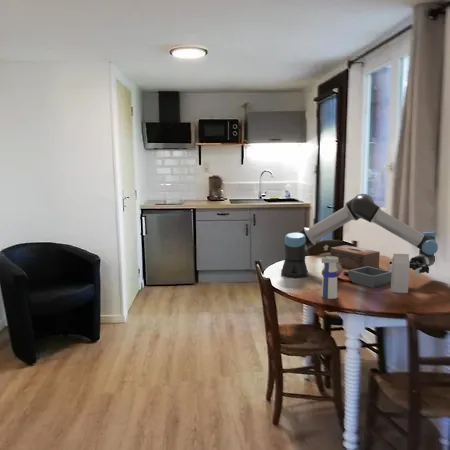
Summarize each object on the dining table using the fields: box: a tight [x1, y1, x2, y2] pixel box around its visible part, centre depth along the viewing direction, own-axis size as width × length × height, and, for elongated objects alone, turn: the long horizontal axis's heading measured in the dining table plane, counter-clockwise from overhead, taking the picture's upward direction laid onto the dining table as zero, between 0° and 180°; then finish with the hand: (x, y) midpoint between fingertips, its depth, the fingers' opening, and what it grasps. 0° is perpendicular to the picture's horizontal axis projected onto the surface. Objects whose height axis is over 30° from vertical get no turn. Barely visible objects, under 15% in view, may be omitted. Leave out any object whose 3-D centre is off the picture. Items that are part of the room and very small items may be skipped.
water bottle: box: [320, 244, 339, 300], centre depth 220 cm, size 8×9×25 cm
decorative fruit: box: [336, 262, 343, 278], centre depth 254 cm, size 9×8×10 cm
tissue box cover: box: [329, 244, 381, 270], centre depth 284 cm, size 26×14×10 cm, turn 35°
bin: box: [347, 266, 392, 289], centre depth 246 cm, size 16×16×6 cm
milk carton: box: [390, 253, 410, 294], centre depth 228 cm, size 7×7×19 cm
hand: (402, 270), depth 228 cm, fingers open, 13 cm apart
